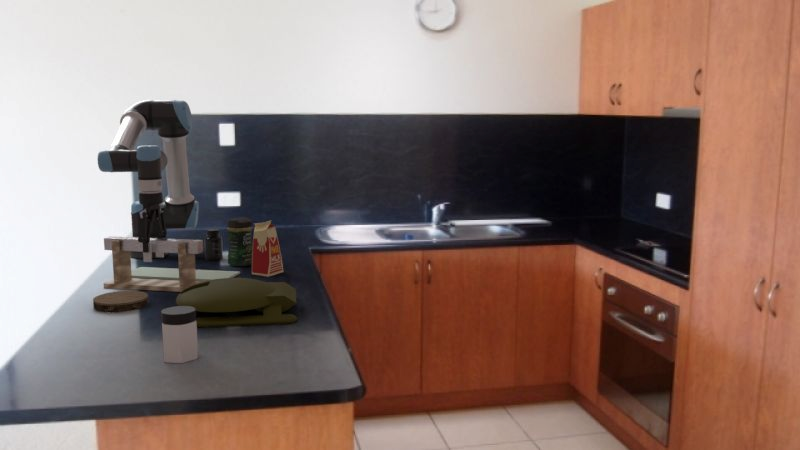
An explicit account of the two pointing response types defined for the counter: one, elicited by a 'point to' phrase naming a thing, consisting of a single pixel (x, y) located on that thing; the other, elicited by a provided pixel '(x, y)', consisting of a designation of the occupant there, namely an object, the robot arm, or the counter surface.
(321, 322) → the counter surface
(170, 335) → the jar
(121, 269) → the rail rack
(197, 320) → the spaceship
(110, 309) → the wooden log slice
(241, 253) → the coffee jar
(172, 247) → the steel rail
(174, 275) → the sage mat
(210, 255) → the supplement bottle
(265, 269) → the milk carton
